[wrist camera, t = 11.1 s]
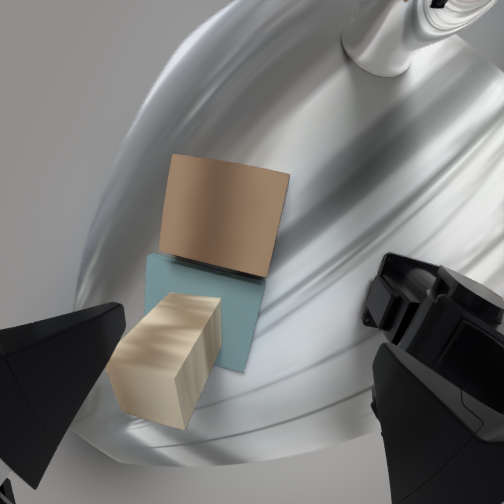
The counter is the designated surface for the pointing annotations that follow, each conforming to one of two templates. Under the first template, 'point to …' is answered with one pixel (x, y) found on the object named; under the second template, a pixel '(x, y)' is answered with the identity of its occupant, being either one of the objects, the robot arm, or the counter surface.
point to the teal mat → (211, 285)
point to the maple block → (167, 359)
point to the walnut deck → (222, 213)
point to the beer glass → (404, 30)
